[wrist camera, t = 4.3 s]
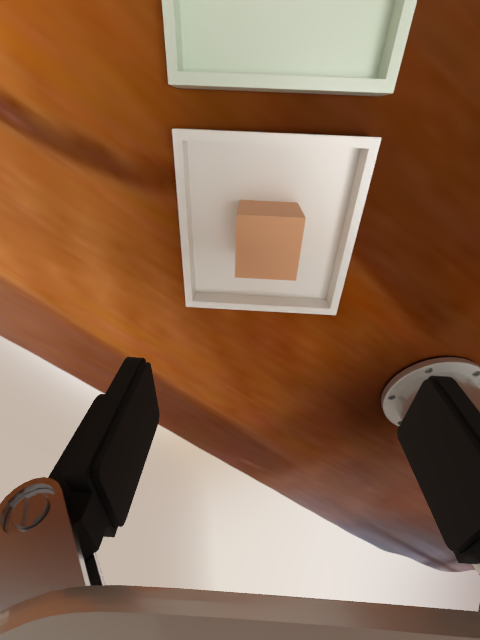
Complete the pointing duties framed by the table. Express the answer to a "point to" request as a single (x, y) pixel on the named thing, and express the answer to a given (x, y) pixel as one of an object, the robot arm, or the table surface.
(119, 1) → the table surface
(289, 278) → the brown cube
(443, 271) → the table surface
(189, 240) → the white tray
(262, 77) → the green tray
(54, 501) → the robot arm
